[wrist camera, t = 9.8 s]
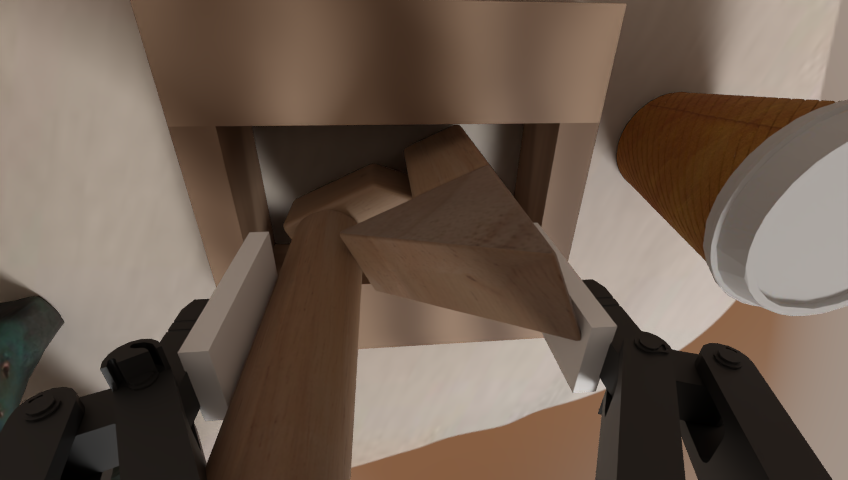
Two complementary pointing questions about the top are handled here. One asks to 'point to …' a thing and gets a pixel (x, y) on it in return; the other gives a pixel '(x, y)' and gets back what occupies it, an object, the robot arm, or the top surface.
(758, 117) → the disposable coffee cup
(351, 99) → the walnut slotted base
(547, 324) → the wooden post with wedge
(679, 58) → the top surface
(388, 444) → the top surface
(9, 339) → the teal animal figurine
